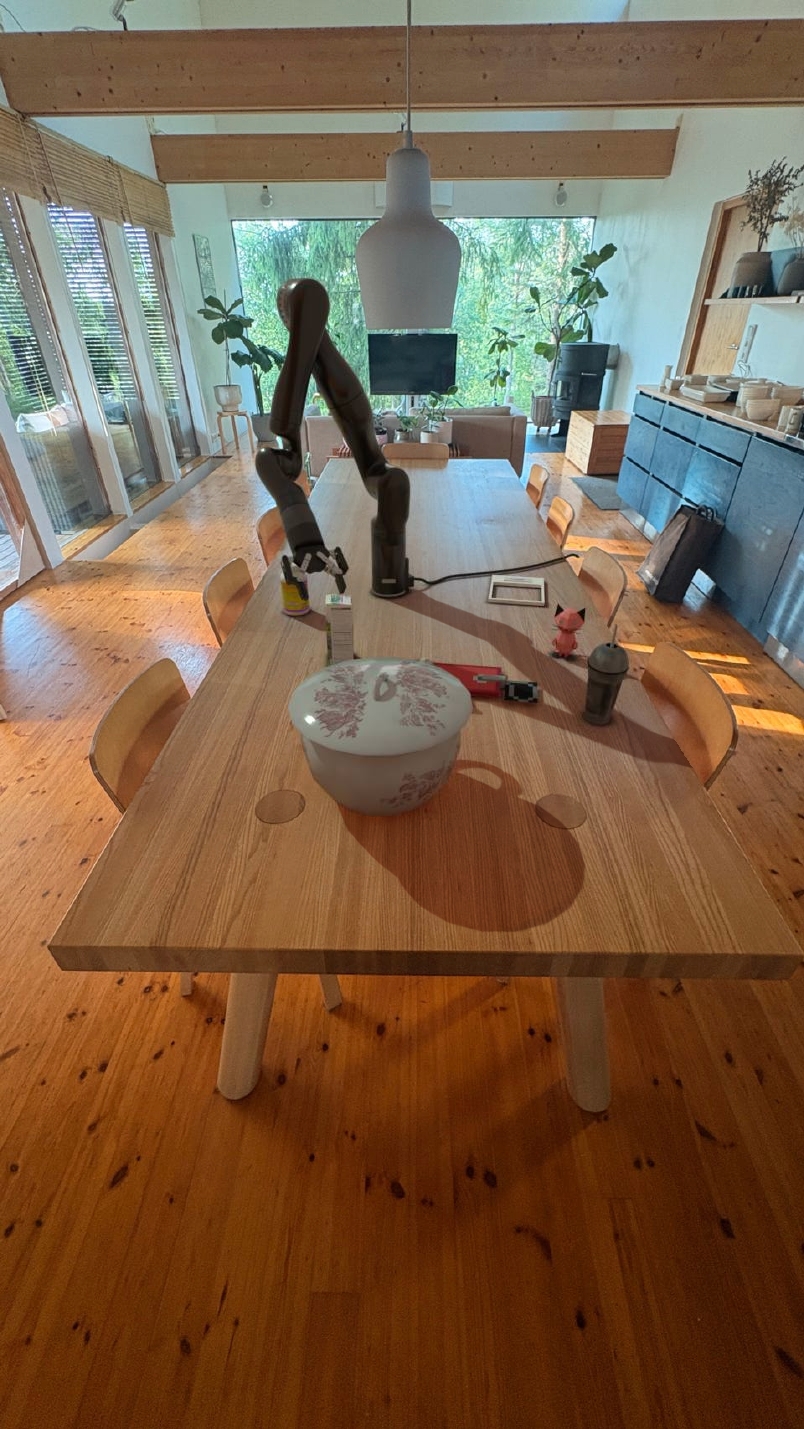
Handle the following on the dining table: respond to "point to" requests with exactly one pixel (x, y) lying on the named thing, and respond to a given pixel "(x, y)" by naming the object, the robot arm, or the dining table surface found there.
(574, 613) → the cat figurine
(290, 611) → the supplement bottle
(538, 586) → the photo frame
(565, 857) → the dining table surface
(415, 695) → the chamber pot
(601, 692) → the beverage cup
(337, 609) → the syrup box
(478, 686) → the red board with handle
